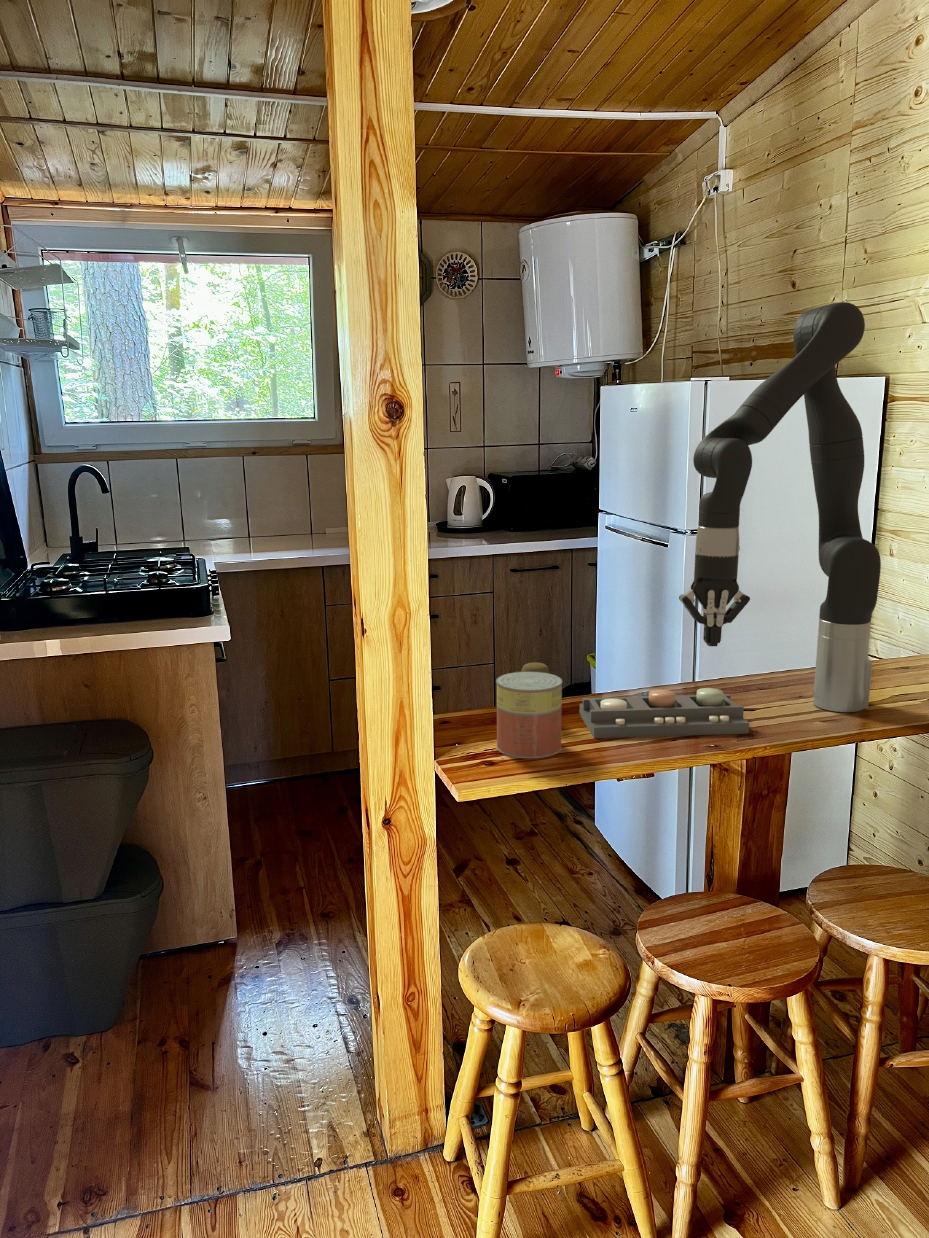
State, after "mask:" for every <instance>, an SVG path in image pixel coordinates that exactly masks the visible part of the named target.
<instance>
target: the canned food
mask: <svg viewBox="0 0 929 1238" xmlns="http://www.w3.org/2000/svg"><path fill="white" fill-rule="evenodd" d="M495 683H496V749H497V750H498V752H499V753H501V754H503V755H505V756H508V757H512V758H518V759H543V758H548V757H552V756H554V755H557V754H558V753H560V751H561V750H562V748H563V747H562V711H563V710H562V707H563V706H562V705H563V704H562V700H563V699H562V698H563V697H562V696H563V688H562V687H563V679H562V678H561V677H560V676H558V675H556V674H552V673H550V672H549V673H544V672H532V671H525V672H521V671H513V672H509V673H505V674H502V675H500V676H498V677H497V678H496V680H495Z"/></svg>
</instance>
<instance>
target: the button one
mask: <svg viewBox="0 0 929 1238" xmlns="http://www.w3.org/2000/svg"><path fill="white" fill-rule="evenodd" d="M600 709H601V710H603V709H627V702H626V701H624V700H621V699H604V700H602V701H601V706H600Z"/></svg>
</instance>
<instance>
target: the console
mask: <svg viewBox="0 0 929 1238" xmlns="http://www.w3.org/2000/svg"><path fill="white" fill-rule="evenodd" d="M696 697H697V694H687V695H686V694H683V695H681V694H680V695H678V694H677V695H675V705H674V706H673V707H667V708H661V707H654V706H651V705H650V704H649V695H647V696H646V695H645V696H618V697H612V696H611V697H585V698H584V697H583V698H582V703H579V715H580V717H581V719H582V720H583V722H584V724H585V725H586V727H587V729H588V731H589V732H590V734H591V736H592V738H593V739H615V738H616V739H617V738H618V739H619V738H643V737H644V738H645V737H679V736H681V737H683V736H709V735H713V736H714V735H736V734H737V735H740V734H741V735H742V734H743V735H744V734H746V735H747V734H749V733H750V723H749V721H748V720H746V718H745V717H744V713H745V712H744V710H745V707H744V706H743V705H742V704H741V705H740V704H739V705H737V704H735V702H734V701H732V699H731V697H732V696H731V694H729V693H724V694H723V704H722V705H719V706H705V705H701V704H698V703H697V702H696ZM604 699H621V700H624V701H626V702H627V709H603V710H601V709H600V706H601V701H602V700H604Z"/></svg>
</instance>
